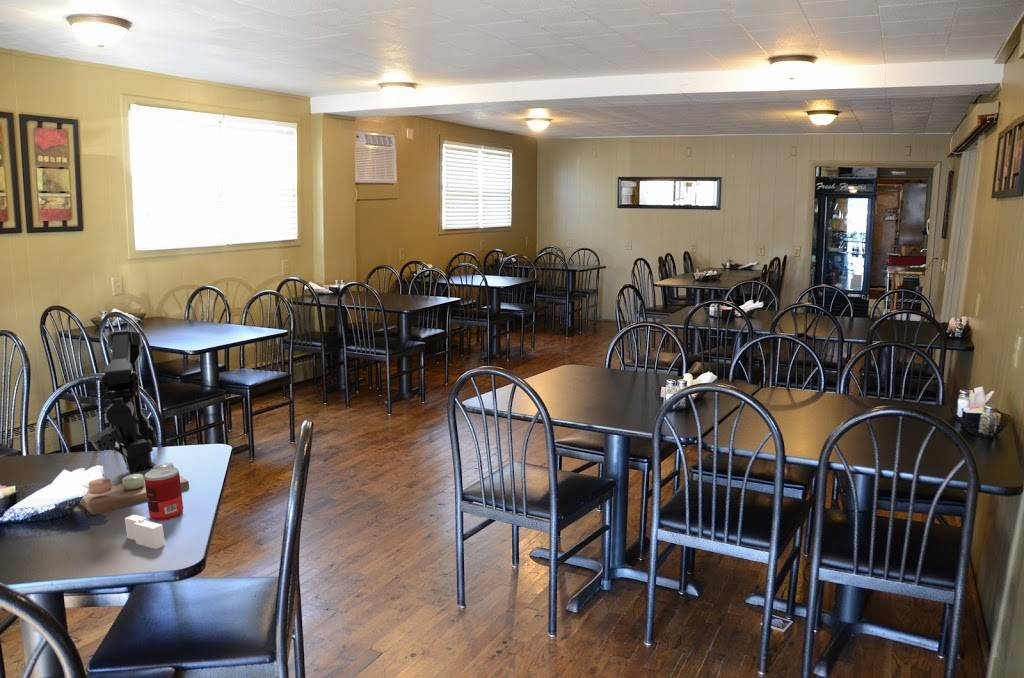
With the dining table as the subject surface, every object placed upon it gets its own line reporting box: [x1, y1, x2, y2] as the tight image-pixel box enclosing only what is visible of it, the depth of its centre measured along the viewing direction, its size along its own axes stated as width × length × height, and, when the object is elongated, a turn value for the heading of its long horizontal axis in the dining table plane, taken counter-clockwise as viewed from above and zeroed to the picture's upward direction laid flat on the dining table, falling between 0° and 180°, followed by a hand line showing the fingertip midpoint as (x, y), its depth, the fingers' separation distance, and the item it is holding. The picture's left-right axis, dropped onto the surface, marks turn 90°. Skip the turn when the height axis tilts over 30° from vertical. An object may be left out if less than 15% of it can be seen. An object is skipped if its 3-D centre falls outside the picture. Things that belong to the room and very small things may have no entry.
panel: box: [80, 474, 190, 516], centre depth 213 cm, size 12×24×2 cm, turn 133°
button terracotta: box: [88, 477, 112, 494], centre depth 207 cm, size 5×5×3 cm
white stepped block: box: [124, 514, 166, 550], centre depth 185 cm, size 15×11×6 cm
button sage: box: [121, 473, 144, 490], centre depth 213 cm, size 5×5×3 cm
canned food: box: [143, 467, 184, 522], centre depth 198 cm, size 8×8×11 cm
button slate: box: [152, 462, 174, 470], centre depth 218 cm, size 5×5×3 cm
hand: (132, 473), depth 212 cm, fingers closed
